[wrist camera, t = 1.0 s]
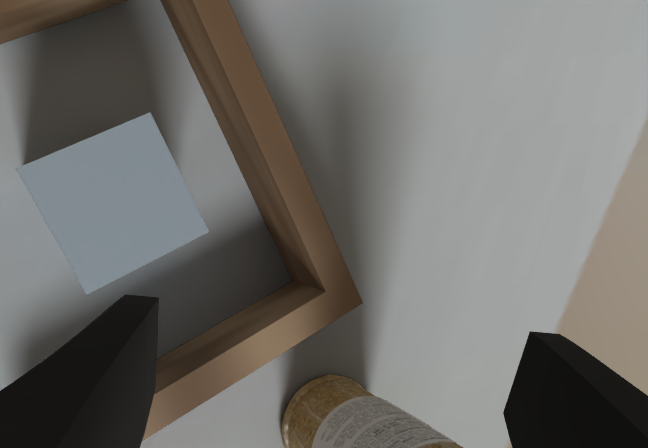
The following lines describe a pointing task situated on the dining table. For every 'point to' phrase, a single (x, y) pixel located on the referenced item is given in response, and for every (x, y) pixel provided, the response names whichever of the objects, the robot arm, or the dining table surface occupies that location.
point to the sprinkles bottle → (352, 419)
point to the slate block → (114, 201)
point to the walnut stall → (267, 190)
